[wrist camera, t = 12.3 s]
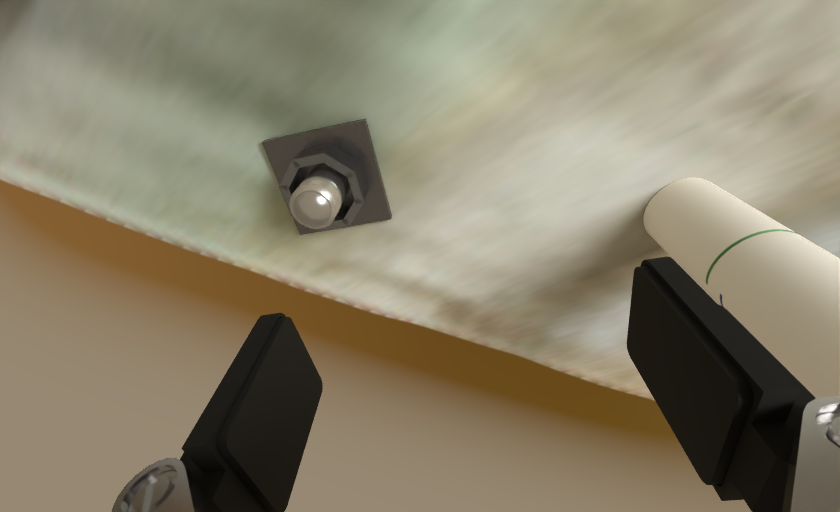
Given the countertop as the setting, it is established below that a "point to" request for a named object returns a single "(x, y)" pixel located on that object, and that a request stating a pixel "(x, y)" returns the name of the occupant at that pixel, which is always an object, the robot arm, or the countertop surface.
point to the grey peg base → (329, 176)
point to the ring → (341, 164)
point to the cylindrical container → (756, 275)
